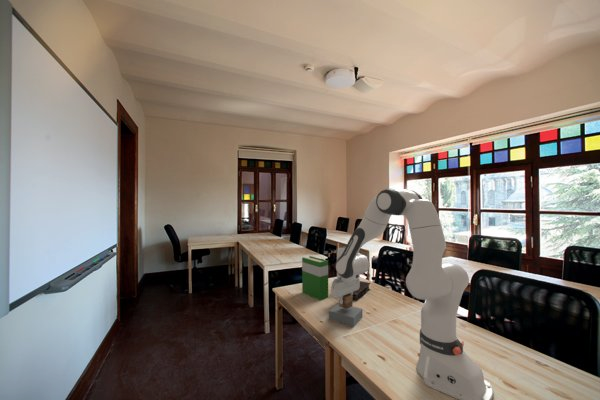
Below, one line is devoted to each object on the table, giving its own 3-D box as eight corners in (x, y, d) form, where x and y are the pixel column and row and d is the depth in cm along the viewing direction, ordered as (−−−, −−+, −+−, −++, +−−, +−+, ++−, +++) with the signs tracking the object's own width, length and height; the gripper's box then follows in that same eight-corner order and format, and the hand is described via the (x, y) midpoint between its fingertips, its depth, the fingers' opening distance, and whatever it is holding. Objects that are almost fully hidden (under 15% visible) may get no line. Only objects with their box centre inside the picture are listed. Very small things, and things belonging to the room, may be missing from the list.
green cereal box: (302, 292, 165) (302, 257, 165) (310, 289, 169) (310, 256, 169) (320, 300, 151) (319, 262, 151) (328, 297, 155) (328, 260, 156)
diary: (331, 295, 160) (331, 288, 160) (347, 285, 180) (347, 278, 180) (358, 302, 149) (357, 294, 149) (372, 290, 169) (371, 283, 169)
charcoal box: (362, 318, 129) (362, 308, 129) (353, 327, 119) (353, 317, 119) (338, 311, 137) (338, 302, 137) (328, 320, 127) (328, 310, 127)
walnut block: (352, 306, 127) (352, 294, 127) (346, 309, 124) (346, 297, 124) (344, 303, 131) (344, 292, 131) (338, 305, 128) (338, 294, 128)
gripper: (337, 281, 119) (337, 309, 119) (361, 273, 132) (361, 298, 132) (327, 278, 123) (328, 305, 123) (352, 271, 137) (352, 295, 137)
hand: (345, 301), depth 128 cm, fingers closed on walnut block, 5 cm apart
